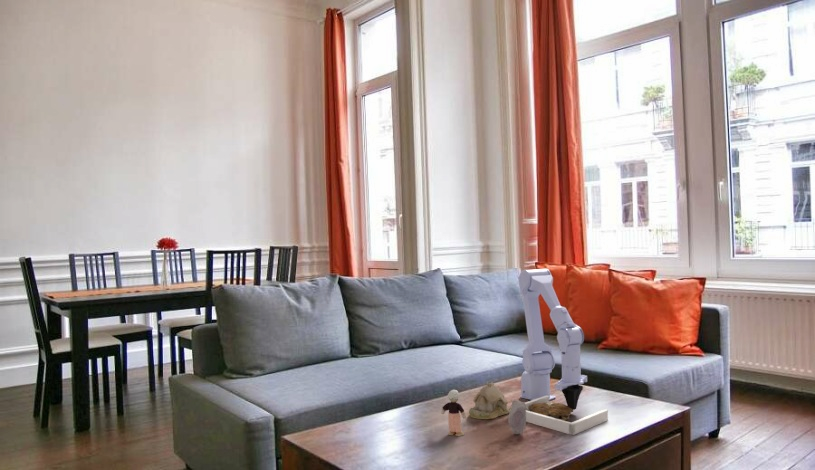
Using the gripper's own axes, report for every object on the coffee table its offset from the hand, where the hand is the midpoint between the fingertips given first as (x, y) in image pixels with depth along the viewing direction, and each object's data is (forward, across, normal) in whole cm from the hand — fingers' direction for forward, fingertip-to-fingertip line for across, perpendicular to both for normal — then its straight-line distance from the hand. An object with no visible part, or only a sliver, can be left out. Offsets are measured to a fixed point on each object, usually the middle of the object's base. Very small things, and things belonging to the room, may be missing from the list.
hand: (572, 408), depth 187 cm
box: (+1, -7, 0) cm, 7 cm away
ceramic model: (+2, -18, +19) cm, 26 cm away
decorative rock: (+2, -6, +2) cm, 7 cm away
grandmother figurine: (+2, -39, +13) cm, 41 cm away
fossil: (+2, -27, 0) cm, 27 cm away
